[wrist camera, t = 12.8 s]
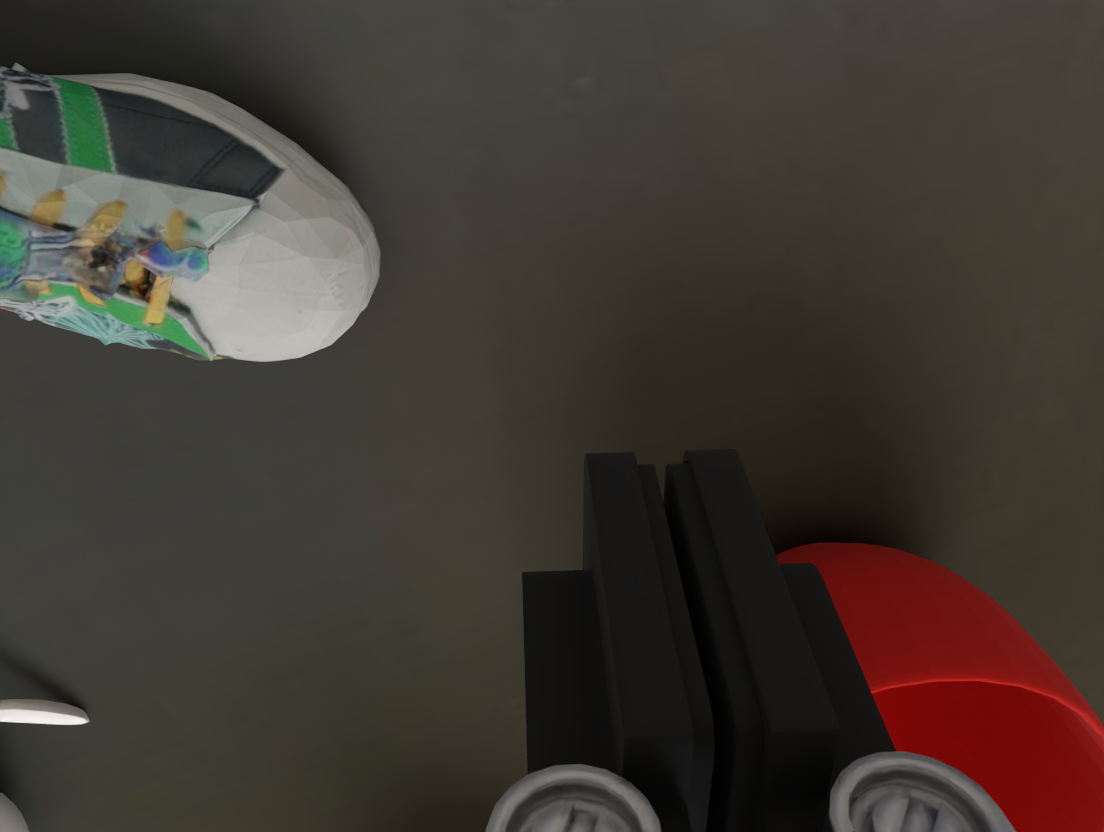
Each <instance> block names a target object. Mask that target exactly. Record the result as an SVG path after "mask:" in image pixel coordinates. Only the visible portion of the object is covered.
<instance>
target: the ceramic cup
mask: <svg viewBox="0 0 1104 832" xmlns="http://www.w3.org/2000/svg"><path fill="white" fill-rule="evenodd" d="M776 557H777V560H778V562H779V564H783V563H812V564H814V565H815V566H817V568H818V570H819V572H820V573H821V575H822V577H823V580H824V582H825V584H826V587H827V589H828V591H829V594H830V596H831V598H832V601H833V603H834V606H835V608H836V610H837V613H838V615H839V617H840V620H841V622H842V624H843V627H844V629H845V631H846V634H847V636H848V638H849V641H850V643H851V646H852V648H853V650H854V653H855V655H856V657H857V660H858V662H859V664H860V667H861V669H862V671H863V674H864V676H865V679H866V681H867V683H868V686H869V688H870V690H871V693H872V695H873V697H874V700H875V702H876V704H877V707H878V709H879V712H880V714H881V716H882V719H883V721H884V723H885V726H886V728H887V730H888V733H889V735H890V737H891V740H892V742H893V745H894V747H895V749H896V752H897V751H904V752H909V753H914V754H919V755H924V756H929V757H932V758H934V759H936V760H939V761H941V762H943V763H945V764H948V765H950V766H952V767H954V768H957V769H958V770H959V771H961V772H962V773H964V774H965V775H966V776H968V777H969V778H971V779H972V780H973V781H975V782H976V783H978V784H979V785H980V786H981V787H982V788H983V789H984V790H985V791H986V792H987V794H988V795H989V796H990V797H991V798H992V799H993V800H994V802H995V803H996V804H997V805H998V806H999V807H1000V809H1001V810H1002V812H1003V813H1004V815H1005V816H1006V818H1007V819H1008V820H1009V822H1010V823H1011V825H1012V826H1013V828H1014V829H1015V831H1016V832H1104V726H1103V724H1102V723H1101V721H1100V719H1099V718H1098V716H1097V715H1096V714H1095V712H1094V711H1093V709H1092V708H1091V707H1090V705H1089V704H1088V703H1087V701H1086V700H1085V699H1084V698H1083V696H1082V695H1081V694H1080V692H1079V691H1078V690H1077V689H1076V687H1075V686H1074V685H1073V684H1072V682H1071V681H1070V680H1069V679H1068V678H1067V676H1066V675H1065V674H1064V673H1063V672H1062V671H1061V669H1060V668H1059V667H1058V666H1057V665H1056V663H1055V662H1054V661H1053V660H1052V659H1051V658H1050V657H1049V656H1048V654H1047V653H1046V652H1045V651H1044V650H1043V649H1042V648H1041V647H1040V646H1039V645H1038V643H1037V642H1036V641H1035V640H1034V639H1033V638H1032V637H1031V636H1030V635H1029V634H1028V633H1027V631H1026V630H1025V629H1024V628H1023V627H1022V626H1021V625H1020V624H1019V623H1018V622H1017V621H1016V620H1015V619H1014V618H1013V617H1012V616H1011V615H1010V614H1009V613H1008V612H1007V611H1006V610H1005V609H1004V608H1003V607H1002V606H1001V605H999V604H998V603H997V602H996V601H995V600H994V599H992V598H991V597H990V596H988V595H987V594H986V593H984V592H983V591H982V590H980V589H979V588H977V587H976V586H974V585H973V584H971V583H969V582H968V581H966V580H965V579H963V578H962V577H960V576H959V575H957V574H955V573H954V572H952V571H951V570H949V569H947V568H946V567H944V566H942V565H939V564H937V563H935V562H933V561H930V560H927V559H925V558H922V557H919V556H916V555H914V554H911V553H908V552H905V551H902V550H899V549H895V548H890V547H883V546H877V545H871V544H865V543H814V544H808V545H802V546H799V547H796V548H793V549H790V550H787V551H784V552H782V553H780V554H778V555H776Z"/></svg>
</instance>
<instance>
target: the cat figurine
mask: <svg viewBox="0 0 1104 832" xmlns="http://www.w3.org/2000/svg"><path fill="white" fill-rule="evenodd" d="M0 722H18V723H39V724H62V725H75V724H84V723H87V722H89V719H88V716H87V714H86V713H85V712H84V711H83V710H82V709H80V708H77V707H74V706H71V705H68V704H64V703H59V702H53V701H47V700H35V699H8V700H0ZM0 832H29V830H28V827H27V824H26V822H25V819H24V818H23V816H22V814H21V813H20V811H19V809H18V808H17V807H16V806H15V804H14V803H13V802H12V801H11V800H9V799H8V798H7V797H6V796H5V795H4V794H2V793H1V792H0Z"/></svg>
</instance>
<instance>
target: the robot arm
mask: <svg viewBox="0 0 1104 832" xmlns="http://www.w3.org/2000/svg"><path fill="white" fill-rule="evenodd" d="M522 581H523V616H524V652H525V688H526V724H527V760H528V775H527V776H526V777H524V778H523V779H521V780H520V781H518V782H517V783H515V784H514V785H512V786H511V787H510V788H509V789H508V790H507V791H506V793H505V794H504V795H503V796H502V797H501V799H500V800H499V801H498V802H497V804H496V805H495V806H494V809H493V812H492V814H491V817H490V820H489V822H488V825H487V828H486V832H1016V831H1015V829H1014V828H1013V826H1012V825H1011V823H1010V822H1009V820H1008V819H1007V818H1006V816H1005V815H1004V813H1003V812H1002V810H1001V809H1000V807H999V806H998V805H997V804H996V803H995V802H994V800H993V799H992V798H991V797H990V796H989V795H988V794H987V792H986V791H985V790H984V789H983V788H982V787H981V786H980V785H979V784H978V783H976V782H975V781H973V780H972V779H971V778H969V777H968V776H966V775H965V774H964V773H962V772H961V771H959V770H958V769H957V768H954V767H952V766H950V765H948V764H945V763H943V762H941V761H939V760H936V759H934V758H932V757H929V756H924V755H919V754H914V753H909V752H904V751H897V752H896V749H895V747H894V745H893V742H892V740H891V737H890V735H889V733H888V730H887V728H886V726H885V723H884V721H883V719H882V716H881V714H880V712H879V709H878V707H877V704H876V702H875V700H874V697H873V695H872V693H871V690H870V688H869V686H868V683H867V681H866V679H865V676H864V674H863V671H862V669H861V667H860V664H859V662H858V660H857V657H856V655H855V653H854V650H853V648H852V646H851V643H850V641H849V638H848V636H847V634H846V631H845V629H844V627H843V624H842V622H841V620H840V617H839V615H838V613H837V610H836V608H835V606H834V603H833V601H832V598H831V596H830V594H829V591H828V589H827V587H826V584H825V582H824V580H823V577H822V575H821V573H820V572H819V570H818V568H817V566H815V565H814V564H812V563H783V564H779V562H778V560H777V557H776V554H775V552H774V549H773V546H772V544H771V541H770V538H769V536H768V533H767V530H766V528H765V525H764V522H763V520H762V517H761V514H760V511H759V509H758V506H757V503H756V501H755V498H754V495H753V493H752V490H751V487H750V485H749V482H748V479H747V477H746V474H745V471H744V469H743V466H742V463H741V461H740V458H739V455H738V453H737V452H736V450H734V449H724V450H690V451H686V452H685V453H684V457H683V463H682V464H668V465H667V467H666V473H665V486H664V502H663V501H662V497H661V493H660V488H659V484H658V480H657V476H656V472H655V468H654V465H653V464H650V465H637V461H636V457H635V454H634V453H633V452H622V453H589V454H585V461H584V524H583V570H573V571H544V572H522Z"/></svg>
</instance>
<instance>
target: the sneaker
mask: <svg viewBox="0 0 1104 832" xmlns="http://www.w3.org/2000/svg"><path fill="white" fill-rule="evenodd" d="M380 257H381V252H380V248H379V244H378V241H377V237H376V233H375V230H374V226H373V222H372V219H371V217H370V216H369V214H368V213H367V212H366V210H365V209H364V208H363V206H362V205H361V204H360V203H359V201H358V200H357V199H356V197H355V196H354V195H353V193H352V192H351V191H350V189H349V188H348V187H347V186H346V185H345V184H344V183H342V182H341V181H340V180H339V179H338V178H337V177H335V176H334V175H333V174H332V173H331V172H329V171H328V170H327V169H326V168H325V167H324V166H322V165H321V164H320V163H319V162H318V161H316V160H315V159H314V158H313V157H312V156H311V155H309V154H308V153H307V152H306V151H305V150H304V149H302V148H301V147H300V146H299V145H298V144H297V143H295V142H294V141H292V140H290V139H289V138H287V137H286V136H284V135H283V134H281V133H279V132H278V131H276V130H275V129H273V128H272V127H270V126H268V125H267V124H265V123H264V122H262V121H261V120H259V119H257V118H256V117H254V116H253V115H251V114H250V113H248V112H246V111H245V110H243V109H242V108H240V107H238V106H236V105H234V104H232V103H230V102H228V101H226V100H224V99H222V98H220V97H219V96H217V95H215V94H213V93H211V92H207V91H204V90H200V89H197V88H193V87H189V86H186V85H182V84H178V83H173V82H168V81H164V80H159V79H154V78H150V77H145V76H140V75H136V74H131V73H118V74H83V75H43V74H40V73H36V72H32V71H29V70H27V69H25V68H24V67H22V66H21V65H19V64H18V63H15V64H14V66H13V67H12V69H10V68H6V67H3V66H0V308H1V309H5V310H9V311H12V312H15V313H17V314H18V315H19V316H20V318H22V319H25V320H28V321H31V320H33V319H37V320H39V321H41V322H44V323H46V324H49V325H52V326H56V327H59V328H63V329H66V330H70V331H74V332H77V333H81V334H84V335H88V336H91V337H95V338H98V339H99V340H100V341H101V342H102V343H104V344H105V345H107V344H110V343H116V342H120V343H123V344H126V345H130V346H133V347H138V348H142V349H162V350H166V351H170V352H174V353H179V354H182V355H185V356H187V357H190V358H193V359H196V360H211V361H212V360H215V359H225V358H231V359H241V360H250V361H260V362H266V361H278V360H286V359H294V358H300V357H303V356H305V355H308V354H310V353H312V352H315V351H317V350H320V349H322V348H325V347H327V346H330V345H332V344H333V343H334V342H335V341H336V340H337V339H338V338H339V337H340V336H341V335H342V334H343V333H344V332H346V331H347V330H348V329H349V328H350V327H351V326H352V325H353V324H354V322H355V321H356V319H357V317H358V316H359V314H360V313H361V312H362V311H363V310H364V309H365V308H366V307H367V305H368V303H369V300H370V298H371V296H372V294H373V291H374V289H375V287H376V284H377V282H378V280H379V278H380Z"/></svg>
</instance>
